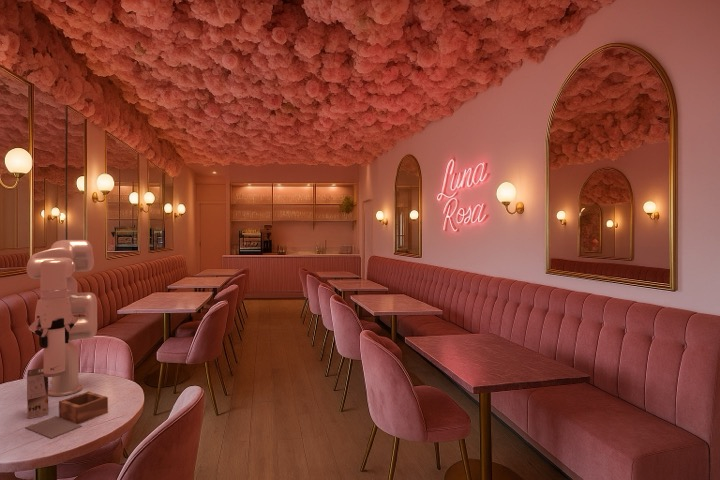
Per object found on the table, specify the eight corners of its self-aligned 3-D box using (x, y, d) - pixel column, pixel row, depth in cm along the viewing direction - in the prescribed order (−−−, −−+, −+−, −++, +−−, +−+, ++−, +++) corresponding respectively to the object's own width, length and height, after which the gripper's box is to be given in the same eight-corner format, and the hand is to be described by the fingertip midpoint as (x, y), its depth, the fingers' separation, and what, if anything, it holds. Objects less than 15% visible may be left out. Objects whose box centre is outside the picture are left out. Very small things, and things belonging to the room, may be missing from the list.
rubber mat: (25, 428, 151) (25, 427, 151) (56, 417, 160) (56, 416, 160) (51, 439, 144) (51, 437, 144) (81, 426, 153) (81, 425, 153)
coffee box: (48, 414, 162) (48, 373, 161) (27, 419, 158) (26, 376, 157) (48, 406, 169) (47, 366, 168) (27, 410, 165) (27, 369, 165)
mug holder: (59, 417, 160) (58, 401, 160) (88, 406, 170) (88, 391, 169) (78, 424, 154) (78, 407, 154) (107, 412, 164) (107, 397, 164)
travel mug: (55, 378, 148) (54, 320, 147) (39, 376, 149) (38, 319, 149) (70, 372, 154) (70, 317, 153) (55, 370, 155) (54, 316, 155)
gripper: (73, 290, 160) (73, 338, 161) (19, 297, 145) (20, 349, 145) (85, 292, 157) (85, 340, 157) (32, 299, 141) (33, 353, 142)
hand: (54, 344), depth 151 cm, fingers closed on travel mug, 6 cm apart
